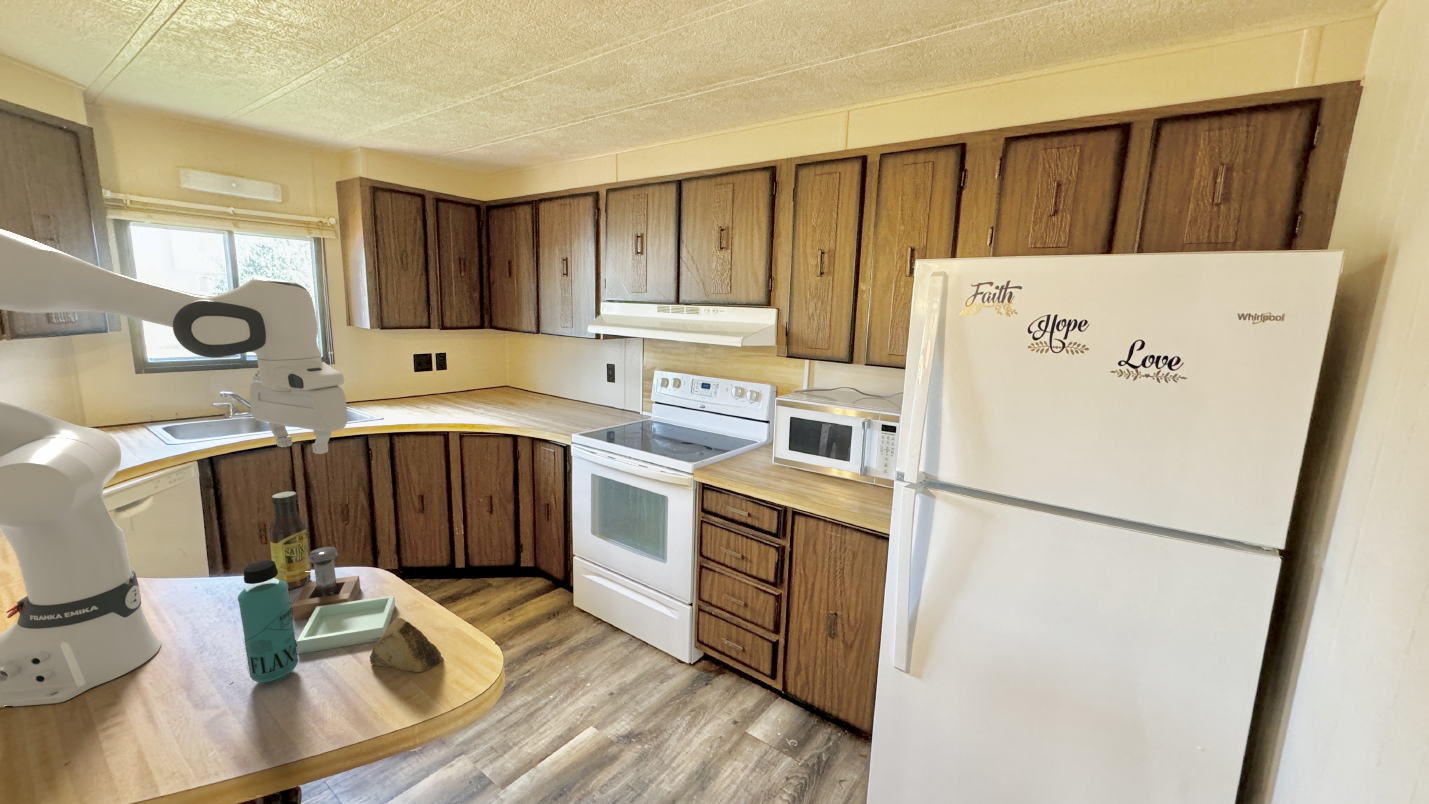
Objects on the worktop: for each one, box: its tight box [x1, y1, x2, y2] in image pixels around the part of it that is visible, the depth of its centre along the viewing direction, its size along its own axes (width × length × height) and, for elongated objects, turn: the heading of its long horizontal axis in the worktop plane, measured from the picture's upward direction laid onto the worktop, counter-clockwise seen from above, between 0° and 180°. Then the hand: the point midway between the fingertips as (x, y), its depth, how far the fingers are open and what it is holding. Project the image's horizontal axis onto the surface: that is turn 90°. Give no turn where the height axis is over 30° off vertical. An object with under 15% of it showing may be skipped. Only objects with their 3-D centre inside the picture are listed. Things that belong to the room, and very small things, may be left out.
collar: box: [291, 575, 361, 621], centre depth 110 cm, size 9×9×3 cm
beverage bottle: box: [237, 559, 300, 683], centre depth 88 cm, size 6×7×20 cm
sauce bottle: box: [268, 491, 312, 590], centre depth 115 cm, size 6×6×20 cm
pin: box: [308, 546, 338, 597], centre depth 109 cm, size 5×5×11 cm
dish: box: [296, 595, 396, 655], centre depth 102 cm, size 13×11×2 cm
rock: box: [369, 617, 444, 673], centre depth 94 cm, size 11×9×10 cm
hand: (302, 449), depth 99 cm, fingers open, 8 cm apart
